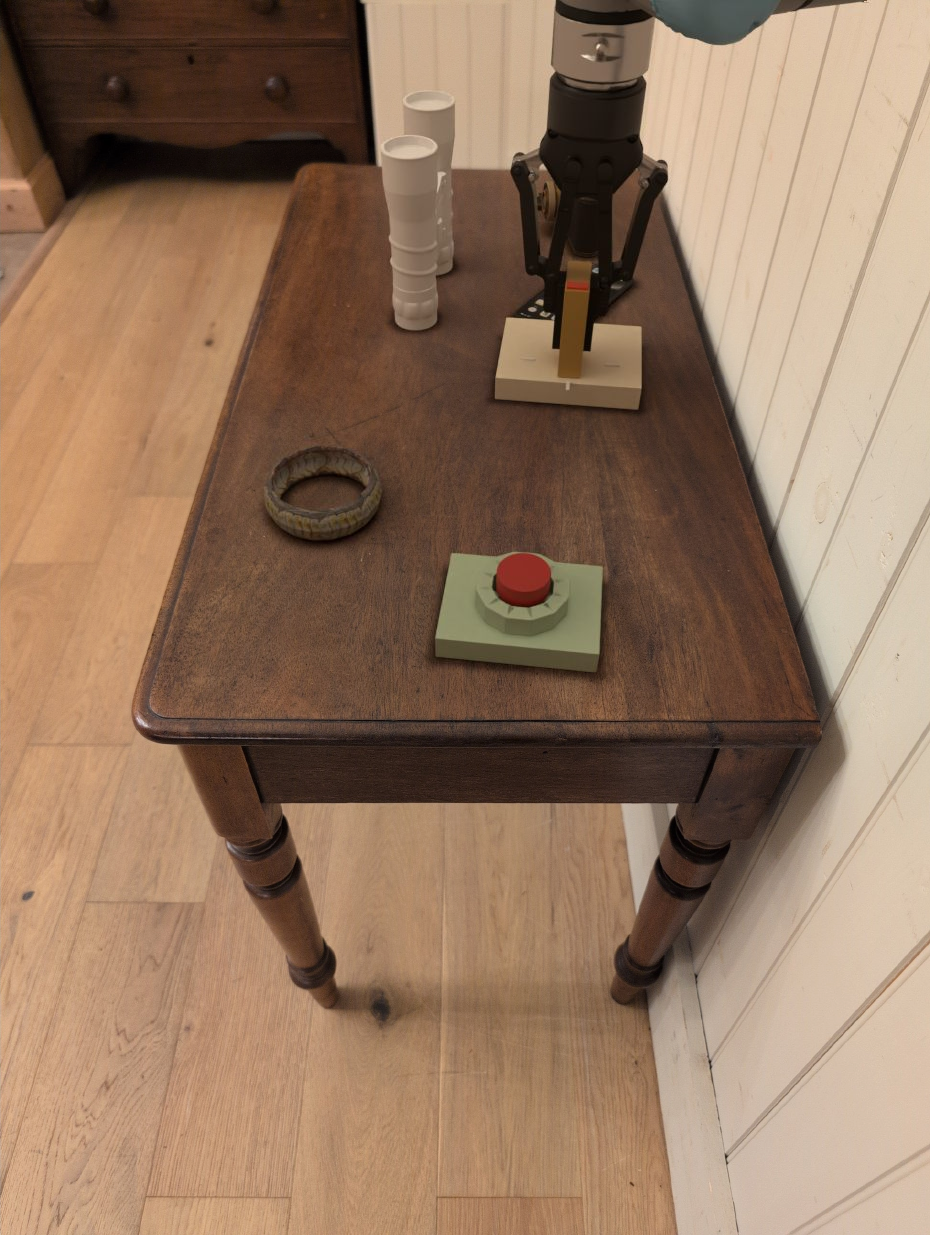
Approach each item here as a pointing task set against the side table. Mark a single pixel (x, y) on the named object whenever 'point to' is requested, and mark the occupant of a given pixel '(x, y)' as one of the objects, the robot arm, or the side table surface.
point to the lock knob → (574, 318)
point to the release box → (521, 617)
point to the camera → (574, 219)
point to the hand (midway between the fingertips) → (571, 342)
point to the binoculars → (420, 205)
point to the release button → (523, 580)
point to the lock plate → (534, 369)
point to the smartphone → (536, 311)
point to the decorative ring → (316, 464)
